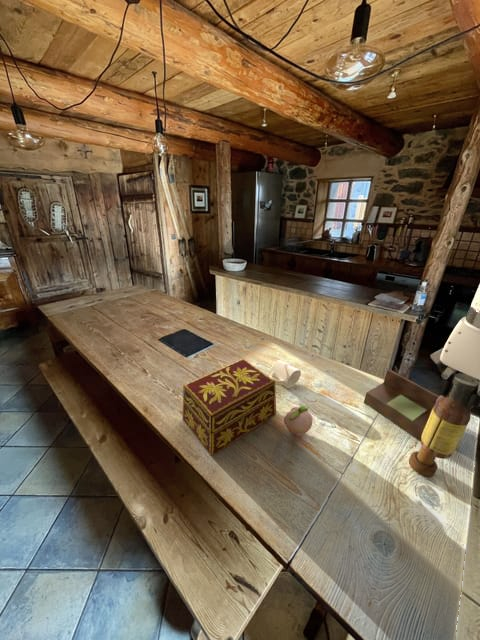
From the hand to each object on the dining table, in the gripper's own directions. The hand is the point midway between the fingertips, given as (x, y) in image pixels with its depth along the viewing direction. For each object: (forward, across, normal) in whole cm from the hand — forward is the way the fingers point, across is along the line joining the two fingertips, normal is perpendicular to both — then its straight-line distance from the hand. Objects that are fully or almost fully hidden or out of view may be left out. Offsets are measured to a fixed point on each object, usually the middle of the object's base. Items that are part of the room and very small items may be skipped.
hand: (457, 399), depth 55 cm
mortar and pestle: (+34, +3, -12) cm, 36 cm away
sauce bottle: (+15, 0, 0) cm, 15 cm away
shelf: (+34, +16, -26) cm, 46 cm away
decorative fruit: (+33, +32, +11) cm, 47 cm away
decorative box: (+33, +48, +27) cm, 64 cm away
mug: (+33, +54, -1) cm, 63 cm away
